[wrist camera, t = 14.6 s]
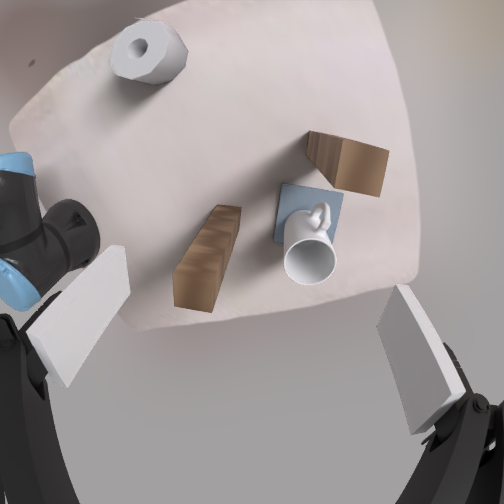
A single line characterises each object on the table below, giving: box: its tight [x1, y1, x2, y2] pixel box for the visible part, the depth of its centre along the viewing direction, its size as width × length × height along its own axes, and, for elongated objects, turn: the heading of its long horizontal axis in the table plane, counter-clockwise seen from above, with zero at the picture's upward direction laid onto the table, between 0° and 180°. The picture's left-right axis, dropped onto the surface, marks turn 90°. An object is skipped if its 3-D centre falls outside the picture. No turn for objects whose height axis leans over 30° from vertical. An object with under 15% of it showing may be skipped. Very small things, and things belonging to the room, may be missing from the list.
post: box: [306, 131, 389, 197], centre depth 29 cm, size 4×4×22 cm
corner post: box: [173, 205, 241, 313], centre depth 36 cm, size 4×4×22 cm
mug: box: [283, 202, 336, 286], centre depth 38 cm, size 10×7×12 cm, turn 160°
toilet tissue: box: [109, 18, 188, 85], centre depth 29 cm, size 9×13×9 cm
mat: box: [273, 183, 344, 244], centre depth 44 cm, size 10×10×1 cm
